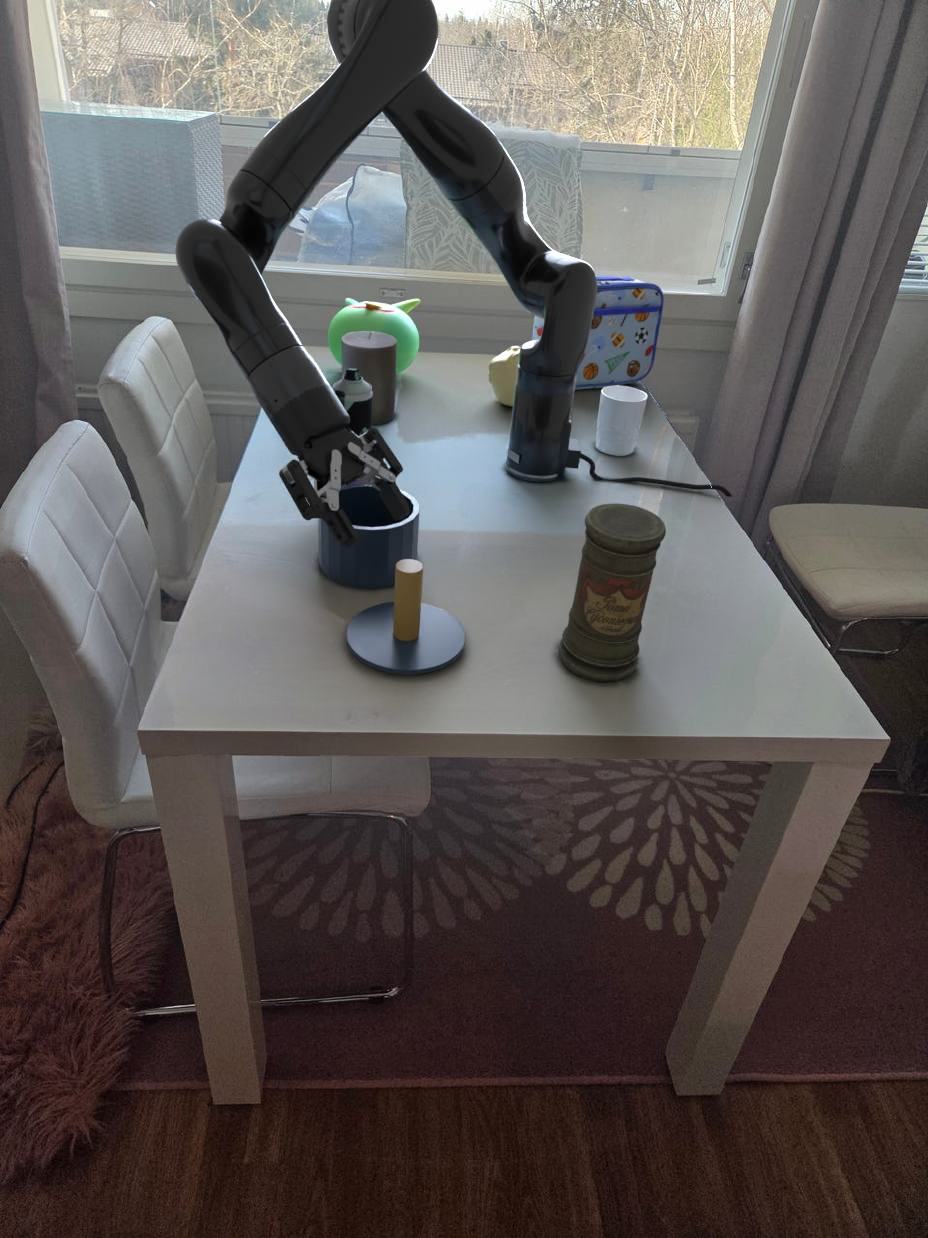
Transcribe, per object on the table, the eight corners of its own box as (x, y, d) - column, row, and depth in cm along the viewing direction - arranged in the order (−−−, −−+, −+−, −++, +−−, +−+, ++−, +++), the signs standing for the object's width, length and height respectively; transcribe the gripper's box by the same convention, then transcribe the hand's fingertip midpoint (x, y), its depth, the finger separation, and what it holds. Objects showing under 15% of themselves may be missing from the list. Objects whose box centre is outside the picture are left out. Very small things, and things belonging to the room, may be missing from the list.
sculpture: (508, 388, 173) (514, 334, 167) (560, 404, 168) (568, 348, 162) (476, 402, 165) (481, 345, 159) (529, 419, 160) (536, 361, 154)
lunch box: (541, 397, 170) (556, 281, 158) (517, 379, 178) (529, 267, 166) (654, 386, 181) (677, 277, 169) (626, 370, 189) (646, 264, 176)
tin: (418, 543, 118) (421, 487, 113) (413, 592, 108) (417, 533, 103) (326, 536, 118) (325, 480, 113) (313, 585, 107) (311, 525, 103)
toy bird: (318, 380, 168) (316, 303, 160) (342, 355, 182) (342, 283, 174) (408, 392, 167) (411, 315, 158) (425, 366, 181) (429, 293, 172)
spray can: (364, 513, 124) (366, 377, 113) (328, 507, 125) (326, 371, 113) (375, 497, 128) (377, 365, 117) (340, 491, 129) (339, 359, 118)
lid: (464, 613, 105) (471, 539, 99) (464, 682, 94) (472, 604, 88) (352, 605, 104) (353, 531, 98) (339, 674, 93) (338, 595, 87)
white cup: (609, 460, 147) (619, 403, 141) (583, 442, 153) (592, 387, 147) (645, 454, 150) (657, 399, 145) (619, 437, 156) (629, 383, 150)
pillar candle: (405, 414, 157) (409, 331, 149) (373, 429, 150) (374, 343, 142) (363, 401, 161) (364, 319, 153) (329, 415, 154) (328, 330, 146)
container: (552, 636, 102) (574, 499, 92) (625, 637, 103) (656, 501, 93) (566, 683, 95) (592, 540, 85) (645, 683, 96) (680, 542, 86)
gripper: (266, 400, 85) (354, 540, 86) (361, 368, 95) (439, 494, 96) (233, 435, 90) (316, 567, 91) (326, 401, 100) (400, 521, 101)
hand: (379, 530), depth 94 cm, fingers open, 8 cm apart
